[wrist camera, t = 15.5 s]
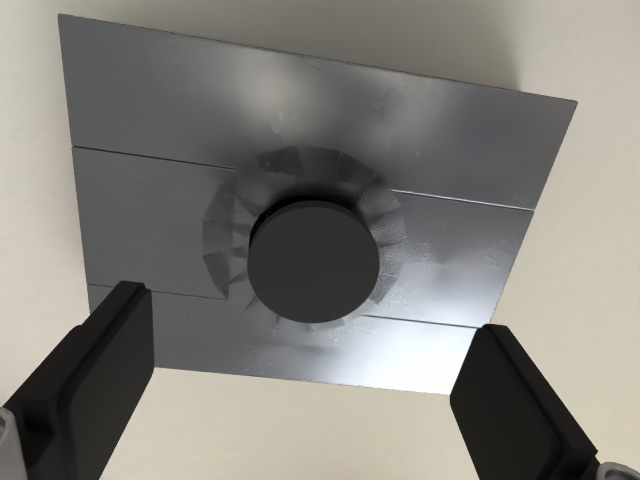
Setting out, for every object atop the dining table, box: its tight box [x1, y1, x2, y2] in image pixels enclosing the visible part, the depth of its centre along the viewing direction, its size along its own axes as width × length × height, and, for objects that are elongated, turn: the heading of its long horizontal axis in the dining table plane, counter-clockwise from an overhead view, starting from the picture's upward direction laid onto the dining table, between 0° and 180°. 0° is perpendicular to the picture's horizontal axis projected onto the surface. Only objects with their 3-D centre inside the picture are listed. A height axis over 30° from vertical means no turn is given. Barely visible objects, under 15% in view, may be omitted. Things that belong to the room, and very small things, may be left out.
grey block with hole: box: [58, 13, 578, 395], centre depth 20 cm, size 16×20×4 cm
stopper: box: [247, 196, 380, 324], centre depth 19 cm, size 6×6×6 cm
